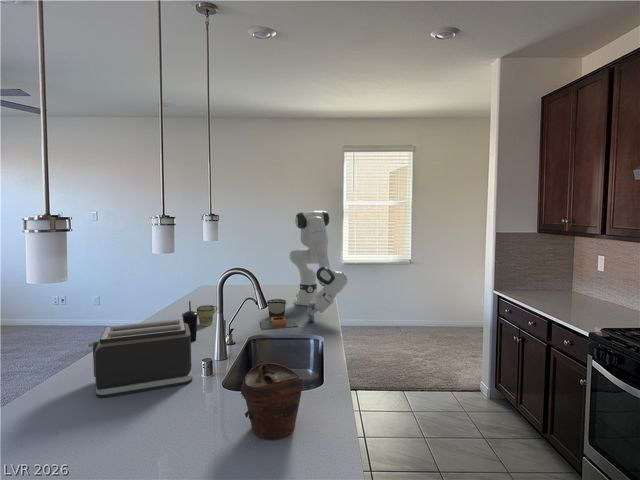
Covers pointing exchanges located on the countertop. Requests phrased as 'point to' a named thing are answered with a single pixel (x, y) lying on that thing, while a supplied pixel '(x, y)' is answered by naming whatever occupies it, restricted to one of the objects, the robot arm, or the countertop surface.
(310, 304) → the square-headed pin
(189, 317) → the drinking cup
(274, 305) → the food container
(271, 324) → the grey base plate
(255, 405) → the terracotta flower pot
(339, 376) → the countertop surface
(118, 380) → the toaster
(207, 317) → the ceramic cup
